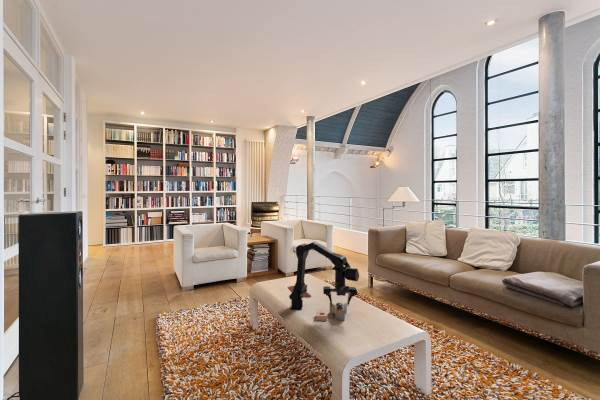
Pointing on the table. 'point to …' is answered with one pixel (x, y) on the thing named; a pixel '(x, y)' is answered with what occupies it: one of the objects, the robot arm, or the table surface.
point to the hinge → (338, 311)
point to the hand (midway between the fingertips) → (339, 305)
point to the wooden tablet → (304, 294)
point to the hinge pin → (339, 305)
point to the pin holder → (321, 315)
